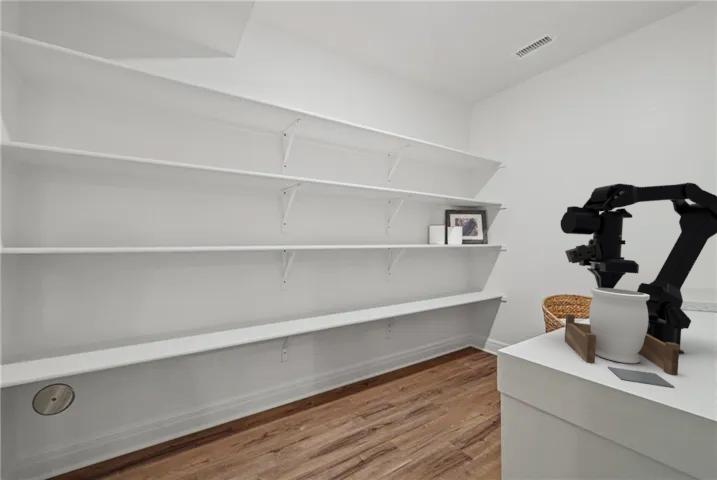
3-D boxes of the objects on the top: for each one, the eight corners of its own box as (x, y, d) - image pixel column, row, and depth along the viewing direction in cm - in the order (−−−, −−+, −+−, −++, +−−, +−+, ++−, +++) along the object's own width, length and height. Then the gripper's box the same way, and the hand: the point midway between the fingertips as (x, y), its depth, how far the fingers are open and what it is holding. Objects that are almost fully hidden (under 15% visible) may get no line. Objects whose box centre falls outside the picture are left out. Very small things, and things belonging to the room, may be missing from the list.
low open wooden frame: (637, 349, 78) (638, 321, 78) (677, 375, 64) (679, 340, 64) (564, 340, 83) (566, 313, 83) (586, 362, 69) (588, 329, 68)
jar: (658, 369, 67) (662, 297, 66) (602, 363, 69) (606, 293, 68) (626, 351, 77) (630, 289, 77) (578, 346, 79) (582, 285, 79)
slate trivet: (655, 374, 64) (655, 373, 64) (674, 387, 58) (674, 386, 58) (607, 367, 66) (607, 366, 66) (621, 379, 60) (621, 378, 60)
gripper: (559, 234, 91) (556, 289, 92) (582, 233, 74) (578, 301, 74) (606, 236, 88) (603, 293, 88) (642, 235, 70) (637, 306, 70)
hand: (603, 298), depth 80 cm, fingers closed
